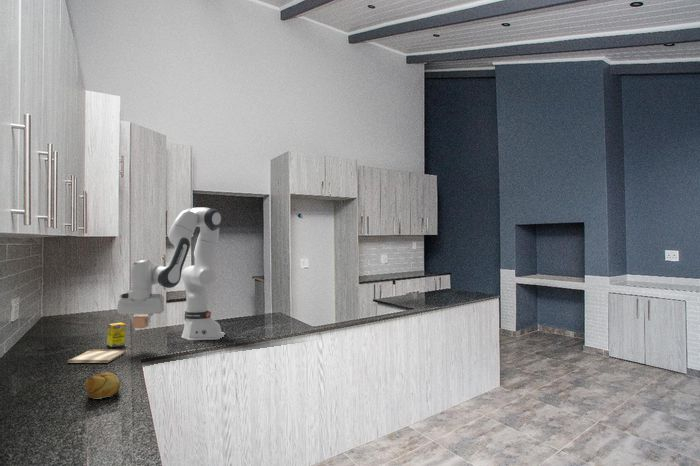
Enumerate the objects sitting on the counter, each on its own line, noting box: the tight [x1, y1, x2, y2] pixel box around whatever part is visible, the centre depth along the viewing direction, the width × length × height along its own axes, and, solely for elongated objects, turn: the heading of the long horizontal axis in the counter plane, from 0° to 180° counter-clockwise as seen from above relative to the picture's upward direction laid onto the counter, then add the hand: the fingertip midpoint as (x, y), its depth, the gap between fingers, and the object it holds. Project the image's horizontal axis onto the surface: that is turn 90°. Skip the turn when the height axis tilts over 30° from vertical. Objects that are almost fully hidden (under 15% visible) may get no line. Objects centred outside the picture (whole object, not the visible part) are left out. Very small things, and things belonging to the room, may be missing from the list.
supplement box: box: [106, 322, 127, 349], centre depth 192 cm, size 6×6×11 cm
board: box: [67, 349, 127, 364], centre depth 172 cm, size 16×16×2 cm
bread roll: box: [85, 371, 121, 399], centre depth 133 cm, size 13×10×8 cm
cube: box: [132, 314, 150, 329], centre depth 186 cm, size 5×5×5 cm
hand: (140, 322), depth 186 cm, fingers closed on cube, 5 cm apart
